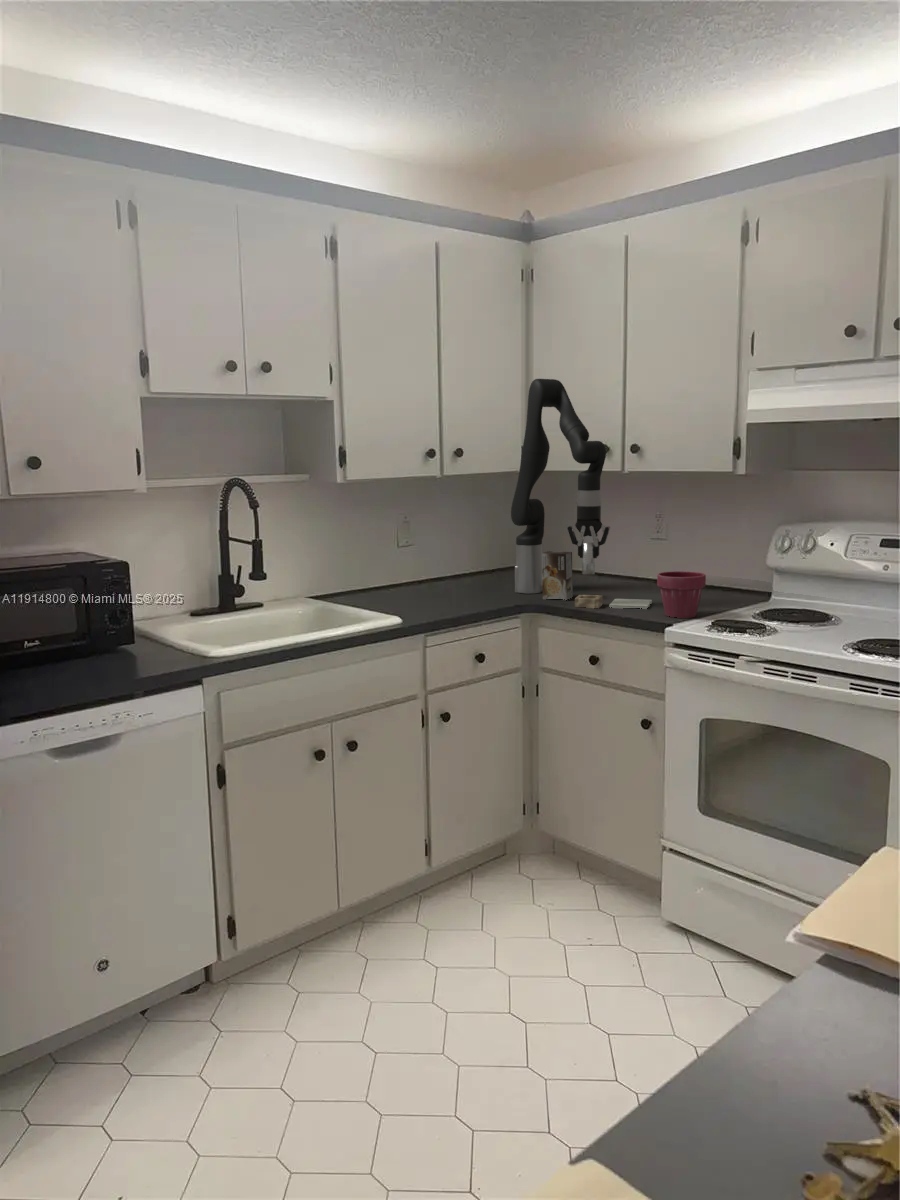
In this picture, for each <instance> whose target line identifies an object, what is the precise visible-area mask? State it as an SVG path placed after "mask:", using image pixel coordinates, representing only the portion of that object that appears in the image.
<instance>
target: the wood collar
mask: <svg viewBox="0 0 900 1200" xmlns="http://www.w3.org/2000/svg"><path fill="white" fill-rule="evenodd" d="M602 605H603V595H601V594H600V595H596V594H595V595H594V594H578V596H576V597H575V598H574V608H575V607H586V608H585V609H594V608H598V609H600V608H601V607H602Z"/></svg>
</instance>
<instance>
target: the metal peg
mask: <svg viewBox="0 0 900 1200" xmlns="http://www.w3.org/2000/svg"><path fill="white" fill-rule="evenodd" d="M594 547H595V545H594V541H593V542H592V541H587V542H586V541H583V543H582V558H581V559H582V560H581V561H582V562H581V565H582V566H581V575H587V576H589V575H595V573H596V571H595V570H596V569H595V567H596V560H595V559H596V558H594Z"/></svg>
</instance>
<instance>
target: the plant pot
mask: <svg viewBox="0 0 900 1200" xmlns="http://www.w3.org/2000/svg"><path fill="white" fill-rule="evenodd" d="M706 578H707V575H706V573H703V572H699V571H698V572H697V571H684V570H683V571H677V570H676V571H663V572H659V573H657V580H656V584H657V585H656V586H657V587H659V589H660V590H659V591H660V595H661V600H662V601H661V602H662V605H663V610H664V615H665V617H666V616H667V617H669V616H670V617H669V618H674V617H677V618H676V619H690V618H695V617H696V616H697V614H698V609H699V606H700V602H701V597H702V593H703V588H705V587H706V581H707V579H706Z"/></svg>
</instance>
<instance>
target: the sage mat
mask: <svg viewBox="0 0 900 1200" xmlns="http://www.w3.org/2000/svg"><path fill="white" fill-rule="evenodd" d="M652 603H653V600H652V599H641V598H639V599H636V598H635V599H634V598H614V599H613V600H612V602H610V603H609V605H608V608H609V607H610V608H609V609H623V608H640V609H639V610H648V609H649V608H650V606H651V605H652ZM650 604H651V605H650ZM611 607H612V608H611ZM648 607H649V608H648ZM641 608H642V609H641ZM647 608H648V609H647Z"/></svg>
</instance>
